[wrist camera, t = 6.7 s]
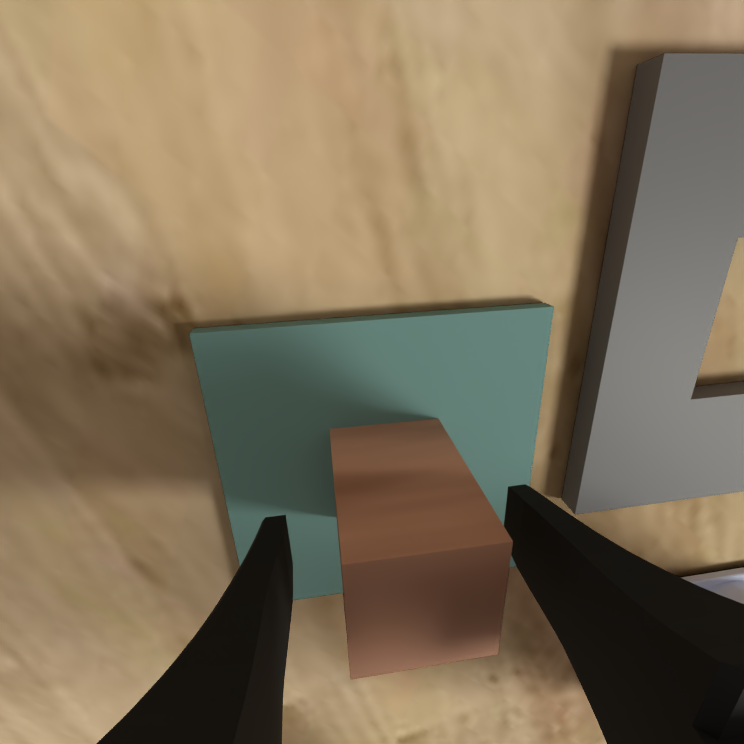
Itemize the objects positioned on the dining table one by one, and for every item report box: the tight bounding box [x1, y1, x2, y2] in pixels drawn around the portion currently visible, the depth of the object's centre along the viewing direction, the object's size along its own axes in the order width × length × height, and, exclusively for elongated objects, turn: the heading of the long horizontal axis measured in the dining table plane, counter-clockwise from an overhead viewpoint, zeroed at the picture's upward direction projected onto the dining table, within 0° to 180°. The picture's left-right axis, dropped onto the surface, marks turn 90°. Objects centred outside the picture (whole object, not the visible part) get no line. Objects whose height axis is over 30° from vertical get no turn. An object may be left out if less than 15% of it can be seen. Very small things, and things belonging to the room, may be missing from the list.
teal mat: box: [189, 303, 554, 600], centre depth 16 cm, size 12×12×1 cm
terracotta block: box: [330, 418, 513, 680], centre depth 13 cm, size 4×4×6 cm
